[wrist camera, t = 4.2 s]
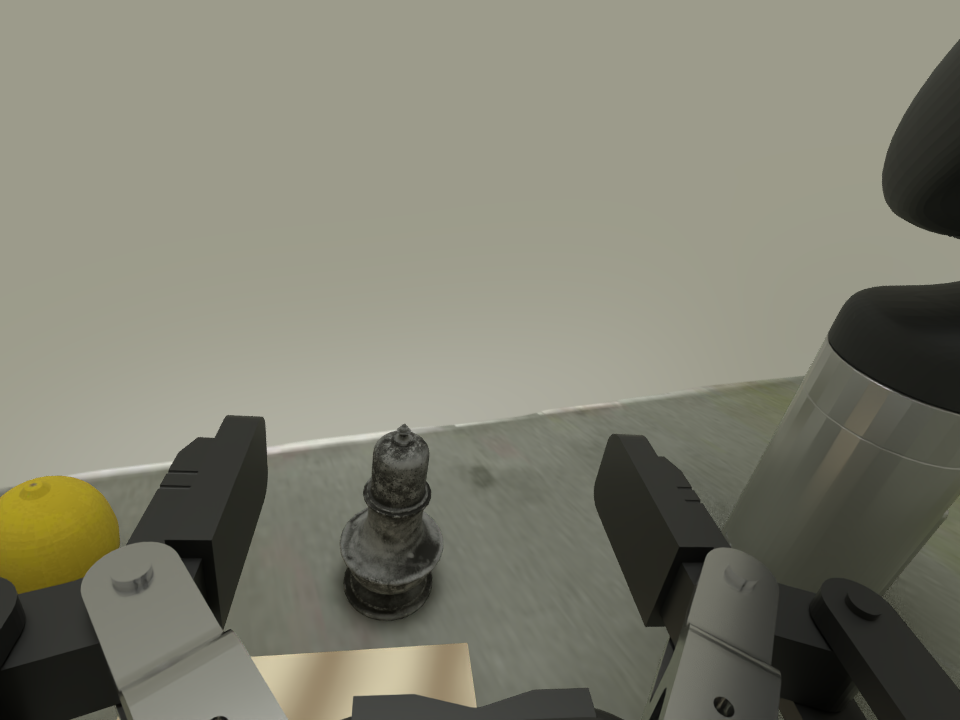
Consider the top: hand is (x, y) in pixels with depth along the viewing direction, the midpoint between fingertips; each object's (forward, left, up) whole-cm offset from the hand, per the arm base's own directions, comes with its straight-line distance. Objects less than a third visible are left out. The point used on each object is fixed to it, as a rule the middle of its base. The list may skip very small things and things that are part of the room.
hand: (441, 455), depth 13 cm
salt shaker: (0, -12, -21) cm, 24 cm away
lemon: (+17, -12, -21) cm, 29 cm away
